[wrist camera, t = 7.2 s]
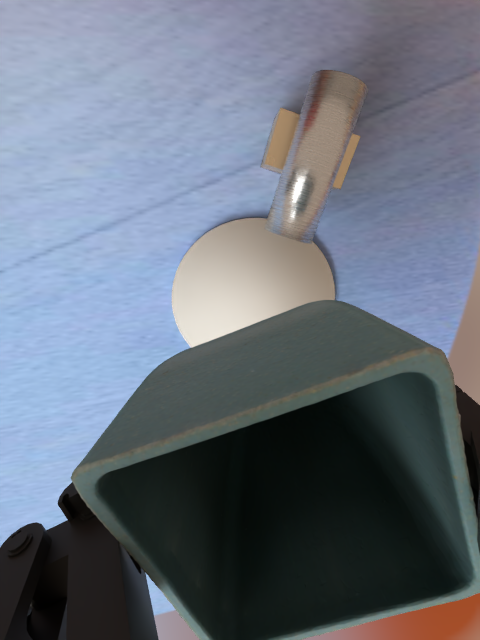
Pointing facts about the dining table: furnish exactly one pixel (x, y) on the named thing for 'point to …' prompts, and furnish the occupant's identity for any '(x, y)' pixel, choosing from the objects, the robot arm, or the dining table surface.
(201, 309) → the seat pad
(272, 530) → the flower pot
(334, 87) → the shaft
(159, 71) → the dining table surface
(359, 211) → the dining table surface
